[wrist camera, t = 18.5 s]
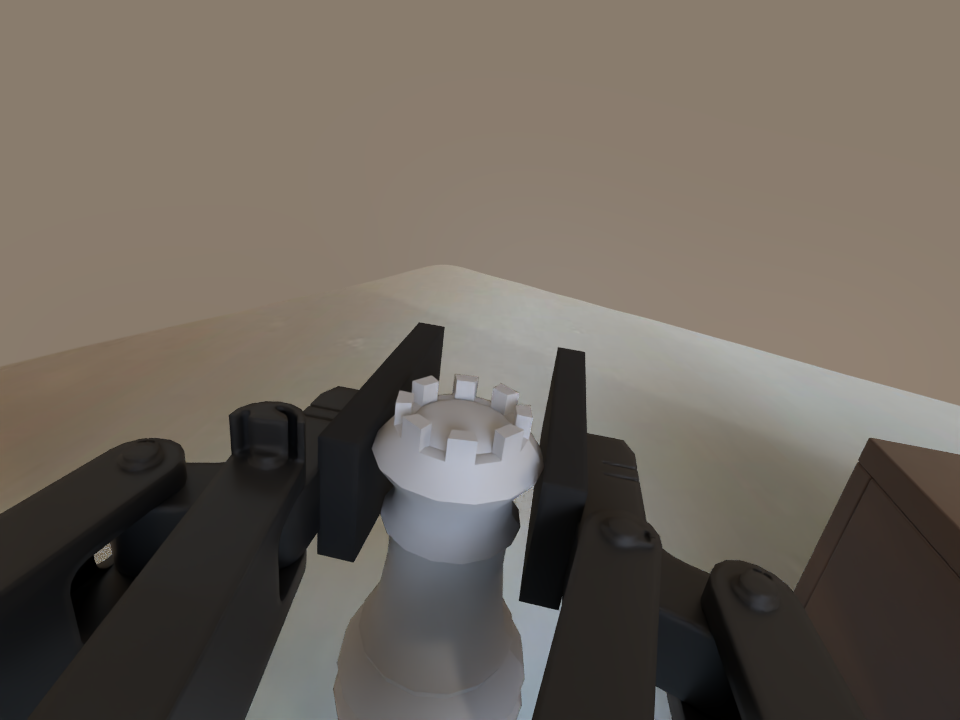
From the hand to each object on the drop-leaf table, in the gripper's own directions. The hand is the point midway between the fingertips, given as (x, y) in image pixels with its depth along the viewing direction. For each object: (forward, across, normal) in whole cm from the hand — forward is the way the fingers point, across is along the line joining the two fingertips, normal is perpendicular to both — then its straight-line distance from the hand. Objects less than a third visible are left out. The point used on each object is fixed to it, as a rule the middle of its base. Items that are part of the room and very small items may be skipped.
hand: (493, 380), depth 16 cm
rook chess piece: (-5, 0, -6) cm, 8 cm away
